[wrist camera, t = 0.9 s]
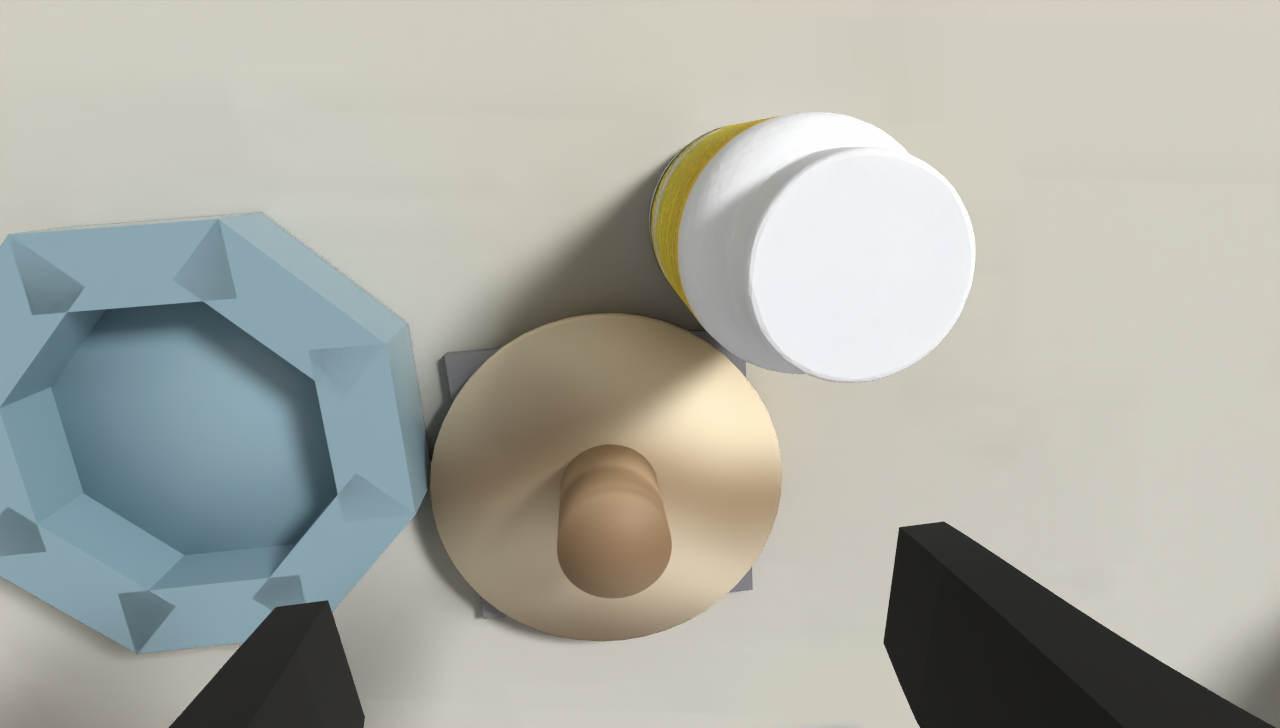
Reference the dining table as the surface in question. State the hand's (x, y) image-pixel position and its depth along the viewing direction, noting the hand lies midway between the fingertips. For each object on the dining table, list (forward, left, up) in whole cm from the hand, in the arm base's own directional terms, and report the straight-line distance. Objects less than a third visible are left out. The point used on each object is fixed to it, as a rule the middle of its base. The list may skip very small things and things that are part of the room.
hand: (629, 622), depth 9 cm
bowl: (-1, +12, -13) cm, 18 cm away
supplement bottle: (+4, -4, -14) cm, 15 cm away
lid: (-4, 0, -13) cm, 14 cm away
